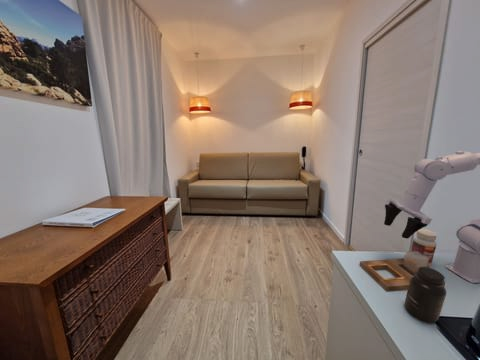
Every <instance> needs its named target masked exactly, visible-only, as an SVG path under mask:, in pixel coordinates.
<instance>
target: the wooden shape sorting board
mask: <svg viewBox="0 0 480 360" xmlns="http://www.w3.org/2000/svg"><path fill="white" fill-rule="evenodd" d="M404 259H405V257H404V258H403V257H401V258H389V259H388V258H387V259H375V260H374V259H373V260H362V261H361V260H360V261H359V267H360V268H361V269H363V270H364V271H365V273H366V274H368V276H370V277H371V278H372V279H373V280H374V281H375V282H376V283H377V284H379V286H380V287H382V288H383V290H385V292H395V291H396V290H397V291H405V290H406V291H408V287H409V283H410V279H411V277H413V276H412V275H411V274H410V273H408V272H407V271H406V270H404V269H403V263H404ZM383 270H385V271H387V272H388V273H390V275H392V276H393V277H391V278H384V276H382V274H380V273H379V272H378V271H383ZM445 284H446V281H445V280H444V284H443V286H444V287H445Z"/></svg>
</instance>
